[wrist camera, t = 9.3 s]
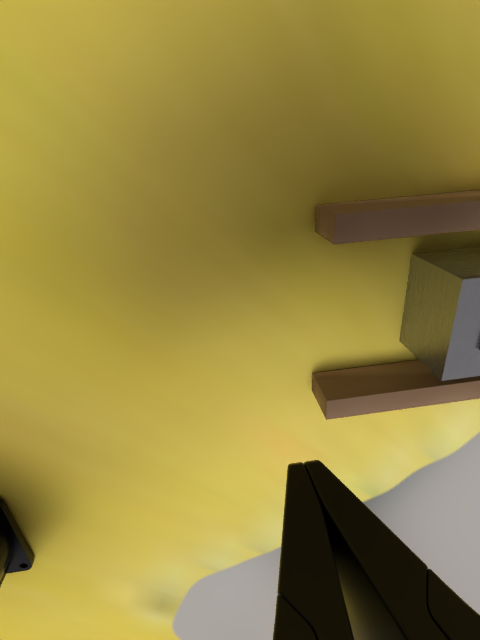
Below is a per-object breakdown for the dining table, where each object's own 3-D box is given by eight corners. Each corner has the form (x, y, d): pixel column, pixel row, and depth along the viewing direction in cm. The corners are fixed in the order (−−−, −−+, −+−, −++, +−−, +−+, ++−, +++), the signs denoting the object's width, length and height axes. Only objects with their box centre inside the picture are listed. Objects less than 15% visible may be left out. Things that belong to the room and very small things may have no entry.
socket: (481, 329, 21) (545, 369, 17) (398, 339, 21) (444, 383, 17) (503, 243, 19) (580, 268, 15) (409, 253, 18) (465, 281, 15)
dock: (493, 366, 22) (537, 398, 19) (311, 390, 21) (330, 427, 18) (544, 183, 17) (610, 191, 15) (315, 204, 17) (340, 217, 14)
